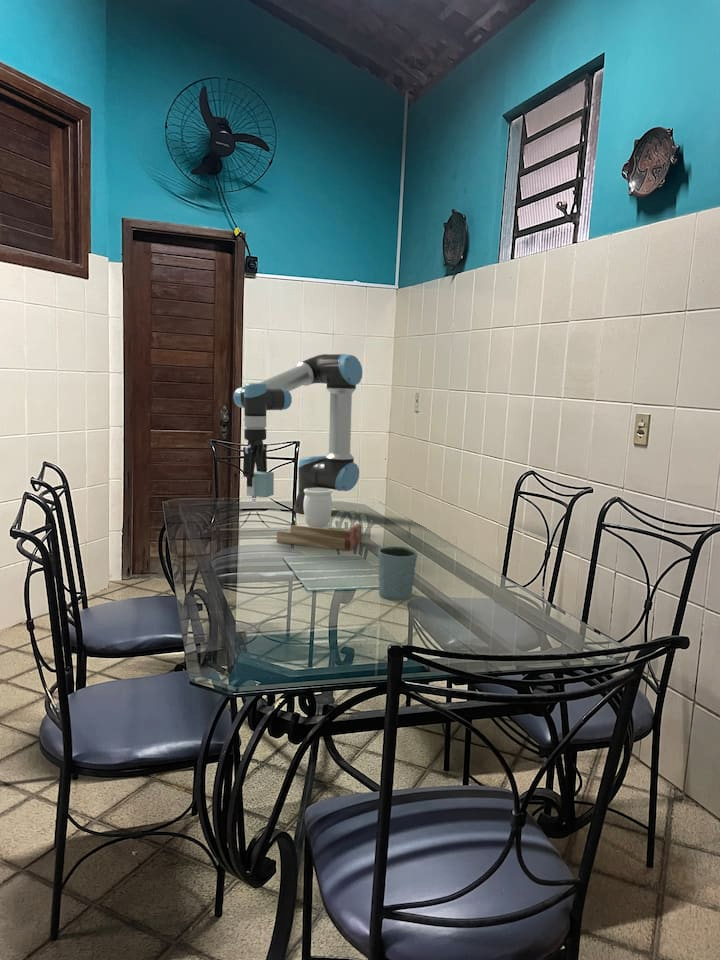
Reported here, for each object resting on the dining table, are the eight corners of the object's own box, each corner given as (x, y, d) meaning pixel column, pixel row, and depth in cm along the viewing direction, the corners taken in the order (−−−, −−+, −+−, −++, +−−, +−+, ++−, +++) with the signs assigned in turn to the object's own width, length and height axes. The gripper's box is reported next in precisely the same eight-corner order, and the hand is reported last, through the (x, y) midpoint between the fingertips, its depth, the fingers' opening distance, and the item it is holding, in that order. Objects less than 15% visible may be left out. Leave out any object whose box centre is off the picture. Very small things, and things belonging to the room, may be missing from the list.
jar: (314, 533, 249) (315, 492, 246) (297, 528, 256) (298, 488, 254) (337, 530, 255) (338, 490, 253) (320, 525, 263) (320, 486, 261)
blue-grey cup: (377, 588, 187) (378, 545, 185) (414, 590, 187) (416, 546, 185) (376, 600, 177) (378, 555, 175) (416, 602, 177) (418, 556, 175)
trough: (291, 534, 246) (292, 518, 245) (361, 542, 238) (361, 525, 237) (276, 542, 235) (276, 525, 234) (348, 550, 227) (349, 532, 226)
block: (258, 493, 245) (258, 471, 244) (273, 494, 243) (273, 472, 242) (250, 496, 239) (250, 473, 238) (266, 497, 237) (266, 474, 236)
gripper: (258, 425, 248) (258, 489, 252) (232, 429, 231) (232, 497, 234) (277, 426, 246) (276, 490, 250) (252, 430, 228) (252, 499, 232)
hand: (255, 494), depth 242 cm, fingers closed on block, 6 cm apart
